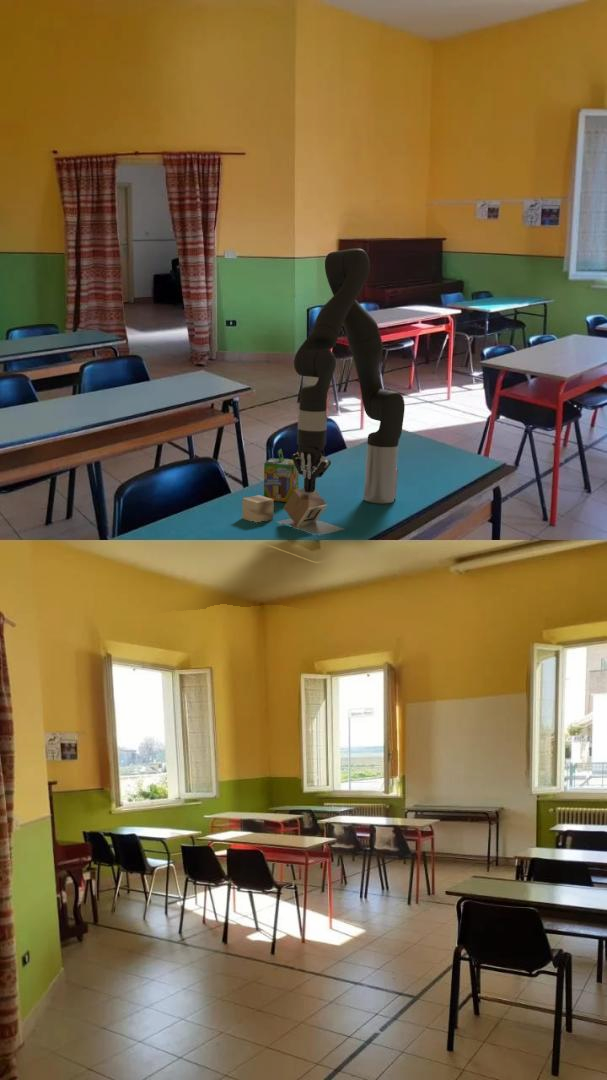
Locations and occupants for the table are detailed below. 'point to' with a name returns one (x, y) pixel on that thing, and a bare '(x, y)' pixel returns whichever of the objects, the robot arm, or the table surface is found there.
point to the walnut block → (304, 507)
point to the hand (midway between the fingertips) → (309, 491)
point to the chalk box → (280, 478)
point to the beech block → (258, 508)
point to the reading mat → (313, 527)
